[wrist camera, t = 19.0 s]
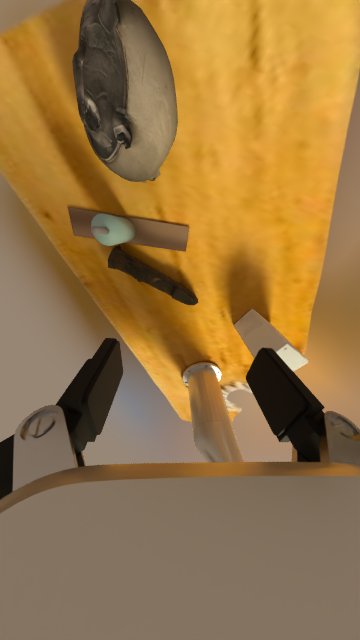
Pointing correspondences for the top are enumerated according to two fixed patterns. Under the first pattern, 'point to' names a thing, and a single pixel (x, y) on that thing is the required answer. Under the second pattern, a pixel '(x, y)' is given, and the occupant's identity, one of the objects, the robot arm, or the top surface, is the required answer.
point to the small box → (267, 339)
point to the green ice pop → (112, 229)
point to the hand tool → (149, 276)
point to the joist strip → (145, 230)
